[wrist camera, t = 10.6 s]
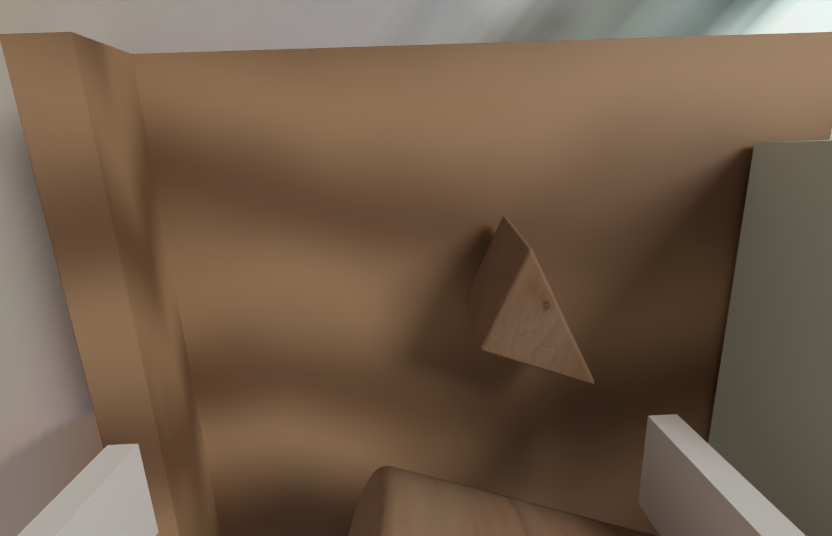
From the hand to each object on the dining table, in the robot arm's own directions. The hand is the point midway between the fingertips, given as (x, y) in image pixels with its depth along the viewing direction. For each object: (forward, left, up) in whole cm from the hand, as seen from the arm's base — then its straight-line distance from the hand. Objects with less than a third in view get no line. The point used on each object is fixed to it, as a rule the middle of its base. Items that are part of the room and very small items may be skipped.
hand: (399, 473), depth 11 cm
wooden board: (0, +3, -5) cm, 6 cm away
